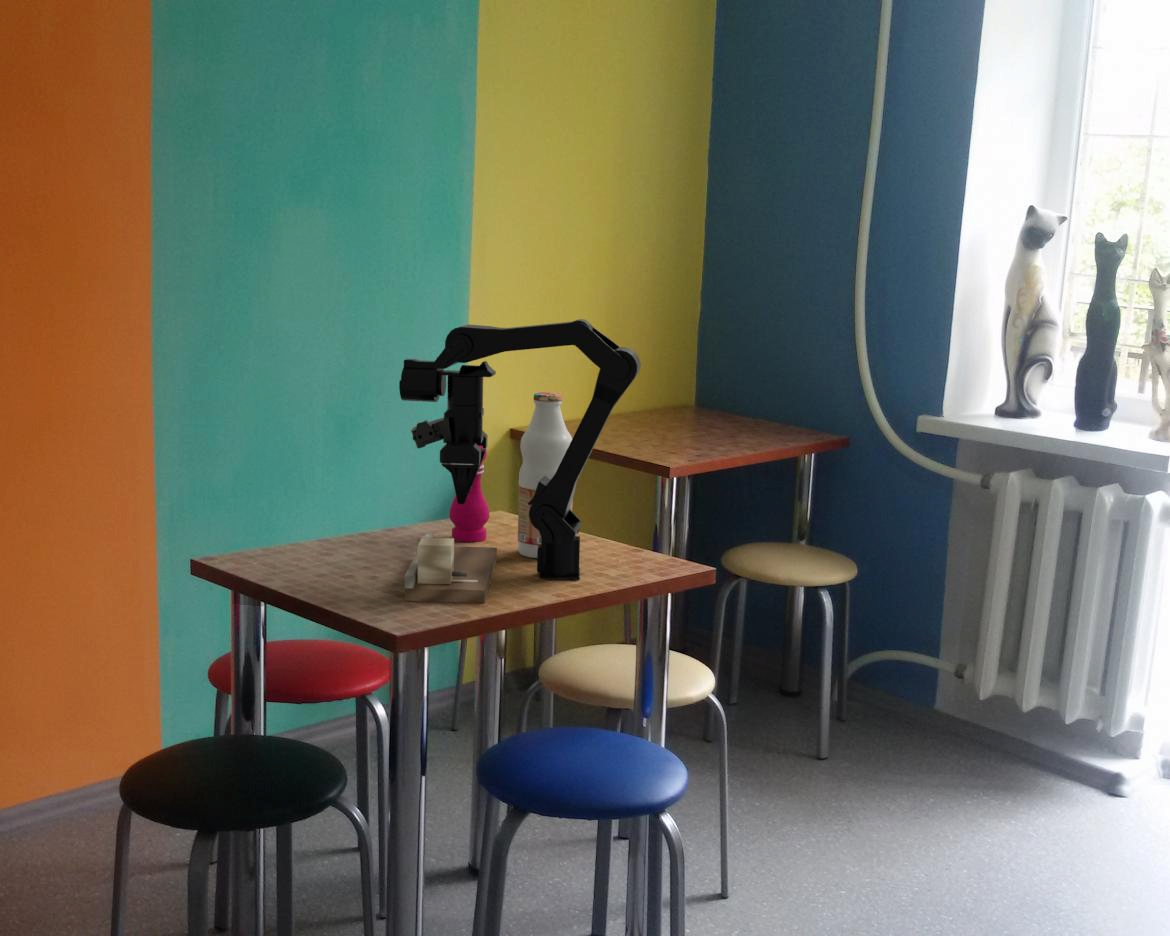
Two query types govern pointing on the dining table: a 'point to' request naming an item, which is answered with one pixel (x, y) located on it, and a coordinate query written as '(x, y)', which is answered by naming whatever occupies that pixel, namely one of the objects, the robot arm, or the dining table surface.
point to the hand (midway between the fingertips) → (463, 498)
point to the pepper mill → (471, 513)
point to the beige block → (437, 561)
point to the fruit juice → (539, 462)
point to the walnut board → (461, 588)
